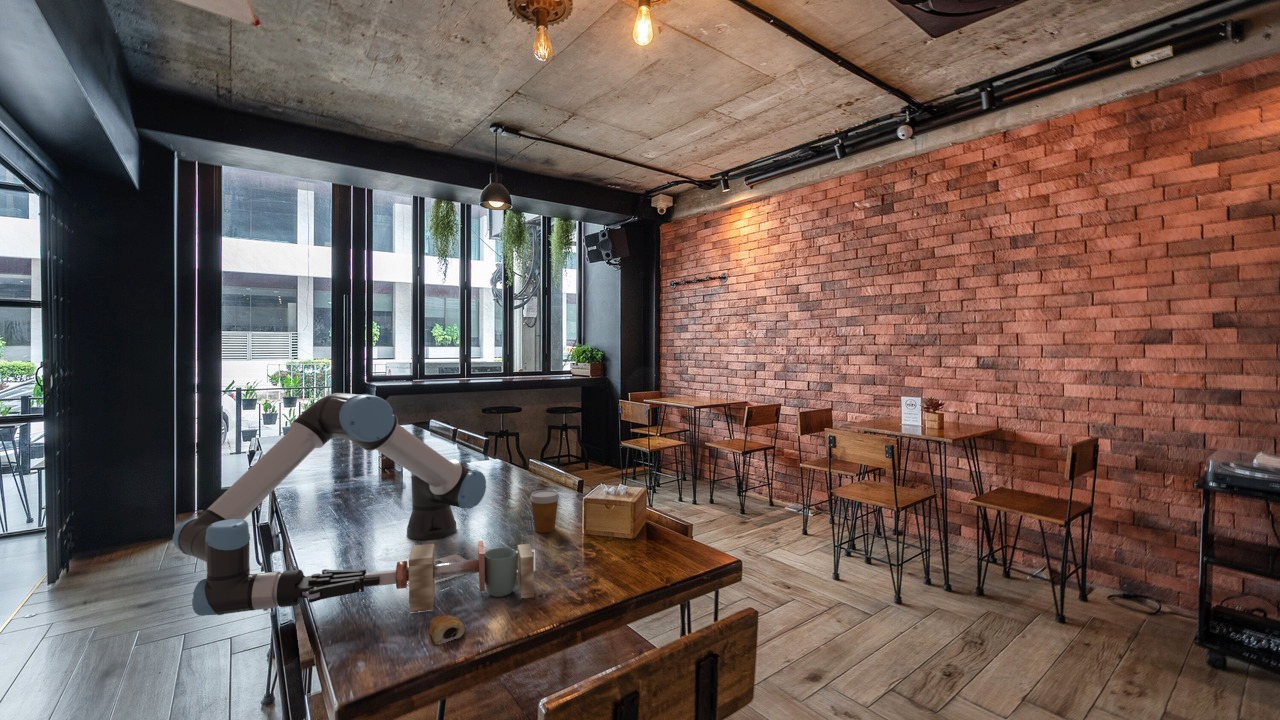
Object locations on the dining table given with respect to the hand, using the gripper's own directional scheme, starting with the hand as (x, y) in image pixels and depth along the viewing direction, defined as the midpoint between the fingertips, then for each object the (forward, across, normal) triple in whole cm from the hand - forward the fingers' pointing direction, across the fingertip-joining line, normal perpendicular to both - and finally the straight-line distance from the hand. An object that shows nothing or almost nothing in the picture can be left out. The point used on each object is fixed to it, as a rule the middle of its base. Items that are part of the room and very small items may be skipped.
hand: (395, 576), depth 132 cm
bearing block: (+6, 0, -7) cm, 9 cm away
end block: (+30, -1, -7) cm, 31 cm away
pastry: (+11, +16, -8) cm, 21 cm away
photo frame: (+8, -19, -8) cm, 22 cm away
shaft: (+10, 0, -4) cm, 11 cm away
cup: (+24, -1, -7) cm, 25 cm away
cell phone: (+30, -20, -8) cm, 37 cm away
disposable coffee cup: (+40, -45, -7) cm, 60 cm away
